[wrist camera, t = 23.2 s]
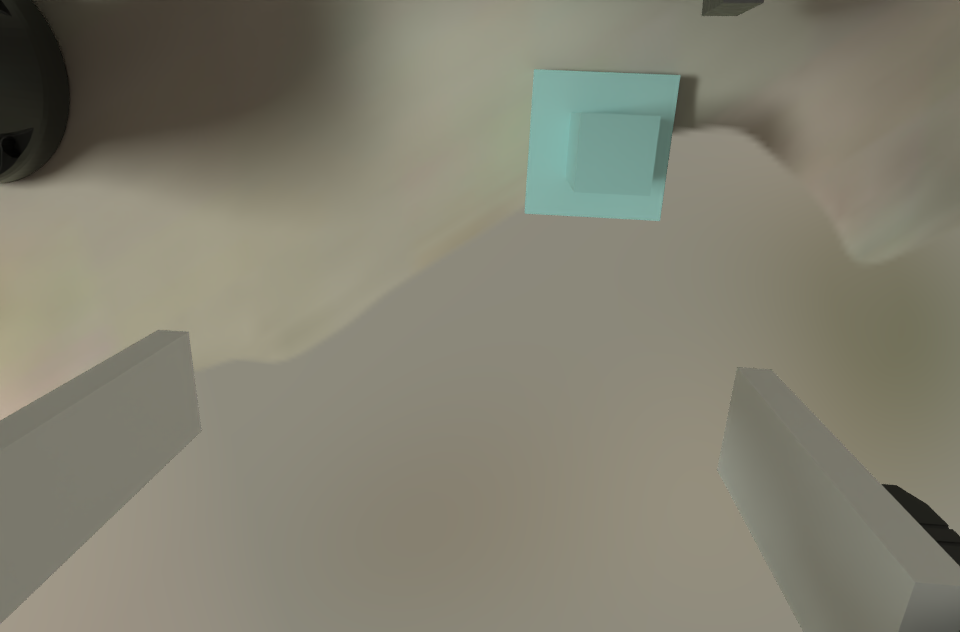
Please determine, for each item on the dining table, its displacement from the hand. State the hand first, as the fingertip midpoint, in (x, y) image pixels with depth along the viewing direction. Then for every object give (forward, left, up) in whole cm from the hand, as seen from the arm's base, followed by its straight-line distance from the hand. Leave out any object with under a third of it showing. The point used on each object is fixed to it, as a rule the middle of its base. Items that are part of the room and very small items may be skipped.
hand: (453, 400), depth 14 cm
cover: (+6, +5, -29) cm, 30 cm away
